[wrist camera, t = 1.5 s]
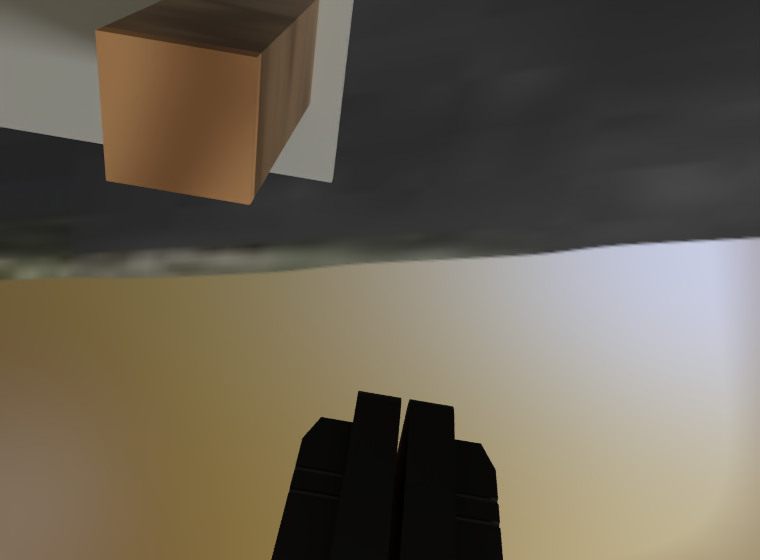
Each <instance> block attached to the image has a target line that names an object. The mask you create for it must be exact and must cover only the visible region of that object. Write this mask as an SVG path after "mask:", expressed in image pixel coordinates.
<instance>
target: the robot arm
mask: <svg viewBox="0 0 760 560" xmlns="http://www.w3.org/2000/svg"><path fill="white" fill-rule="evenodd" d="M400 410H401V398H398V397H392V396H386V395H380V394H374V393H368V392H363V391H358V396H357V402H356V408H355V415H354V420H353V422H347V421H341V420H335V419H330V418H324V417H321V418H320V419H319V420H318V422H316V424H315V425H314V426H313V427H312V428H311V429H310V430H309V431H308V432H307V434H306V435H305V436H304V437H303V438H302V442H301V446H300V450H299V454H298V458H297V462H296V467H295V470H294V474H293V477H292V481H291V485H290V490H289V493H288V497H287V501H286V505H285V509H284V512H283V516H282V520H281V524H280V528H279V532H278V536H277V540H276V544H275V548H274V552H273V555H272V559H271V560H503V555H502V543H501V530H500V528H499V523H500V517H499V505H498V504H497V500H498V493H497V480H496V470H495V468H494V466H493V465H492V463H491V461H490V459H489V457H488V456H487V454H486V452H485V450H484V448H483V447H482V445H481V444H479V443H474V442H468V441H461V440H455V439H454V438H455V435H454V408H453V407H452V406H447V405H441V404H435V403H428V402H423V401H417V400H411V399H410V400H409V403H408V406H407V411H406V415H405V420H404V424H403V429H402V433H401V438H400V443H399V447H398V452H397V446H398V434H399V423H400Z"/></svg>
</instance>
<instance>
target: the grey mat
mask: <svg viewBox="0 0 760 560" xmlns="http://www.w3.org/2000/svg"><path fill="white" fill-rule="evenodd" d="M159 1H162V0H0V127H5V128H11V129H17V130H23V131H29V132H35V133H40V134H46V135H52V136H58V137H64V138H70V139H76V140H82V141H88V142H94V143H100V144H103V131H102V117H101V103H100V90H99V76H98V62H97V49H96V35H95V30H97V29H99V28H101V27H103V26H106V25H108V24H110V23H112V22H115V21H117V20H119V19H121V18H123V17H126V16H128V15H130V14H132V13H135V12H137V11H139V10H141V9H144V8H146V7H148V6H150V5H153V4H155V3H157V2H159ZM353 1H354V0H320V1H319V12H318V23H317V34H316V45H315V56H314V67H313V77H312V88H311V99H310V105H309V106H308V108H307V110H306V111H305V113H304V115H303V116H302V118H301V120H300V121H299V123H298V125H297V126H296V128H295V130H294V131H293V133H292V135H291V136H290V138H289V140H288V141H287V143H286V145H285V147H284V148H283V150H282V152H281V153H280V155H279V157H278V158H277V160H276V162H275V163H274V165H273V167H272V168H271V170H270V172H271V173H277V174H283V175H289V176H295V177H301V178H307V179H313V180H319V181H325V182H331V183H332V180H333V173H334V165H335V156H336V147H337V139H338V130H339V122H340V113H341V104H342V96H343V87H344V78H345V70H346V61H347V53H348V44H349V35H350V27H351V18H352V10H353Z"/></svg>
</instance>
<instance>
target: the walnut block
mask: <svg viewBox="0 0 760 560" xmlns="http://www.w3.org/2000/svg"><path fill="white" fill-rule="evenodd" d="M319 1H320V0H162V1H159V2H157V3H155V4H153V5H150V6H148V7H146V8H144V9H141V10H139V11H137V12H135V13H132V14H130V15H128V16H126V17H123V18H121V19H119V20H117V21H115V22H112V23H110V24H108V25H106V26H103V27H101V28H99V29H97V30H95V35H96V49H97V62H98V76H99V90H100V103H101V117H102V131H103V144H104V158H105V172H106V181H111V182H117V183H123V184H129V185H135V186H141V187H147V188H153V189H159V190H165V191H171V192H176V193H182V194H188V195H194V196H200V197H206V198H212V199H218V200H224V201H230V202H236V203H242V204H248V205H250V204H251V202H252V200H253V199H254V197H255V195H256V194H257V192H258V190H259V188H260V187H261V185H262V183H263V182H264V180H265V178H266V177H267V175H268V173H269V172H270V170H271V168H272V167H273V165H274V163H275V162H276V160H277V158H278V157H279V155H280V153H281V152H282V150H283V148H284V147H285V145H286V143H287V141H288V140H289V138H290V136H291V135H292V133H293V131H294V130H295V128H296V126H297V125H298V123H299V121H300V120H301V118H302V116H303V115H304V113H305V111H306V110H307V108H308V106H309V105H310V99H311V88H312V77H313V67H314V56H315V45H316V34H317V23H318V12H319Z"/></svg>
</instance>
